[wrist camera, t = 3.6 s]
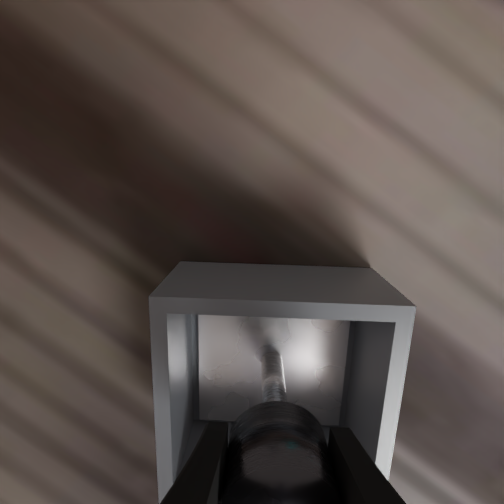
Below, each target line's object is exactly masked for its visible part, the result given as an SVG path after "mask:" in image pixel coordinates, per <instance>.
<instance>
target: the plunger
mask: <svg viewBox="0 0 504 504" xmlns="http://www.w3.org/2000/svg"><path fill="white" fill-rule="evenodd" d="M198 327H199V419H200V420H222V421H235V422H234V424H233V426H232V428H231V430H230V434H229V441H228V450H227V458H226V466H225V475H224V483H223V491H222V500H221V504H342V503H341V499H340V495H339V491H338V487H337V483H336V479H335V474H334V470H333V466H332V462H331V458H330V454H329V450H328V446H327V442H326V438H325V434H324V430H323V428H322V426H321V425H335V426H339V419H340V410H341V401H342V392H343V383H344V374H345V365H346V356H347V347H348V338H349V328H350V320H324V319H298V318H272V317H246V316H220V315H198Z"/></svg>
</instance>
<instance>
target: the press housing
mask: <svg viewBox="0 0 504 504" xmlns="http://www.w3.org/2000/svg"><path fill="white" fill-rule="evenodd" d="M148 298H149V318H150V338H151V358H152V378H153V398H154V419H155V439H156V459H157V479H158V499H159V504H160V503H161V501H162V500H163V498H164V497H165V495H166V494H167V492H168V491H169V489H170V488H171V486H172V485H173V483H174V482H175V480H176V479H177V477H178V475H179V474H180V472H181V470H182V469H183V467H184V466H185V464H186V462H187V461H188V459H189V457H190V455H191V454H192V452H193V450H194V448H195V446H196V444H197V442H198V440H199V438H200V436H201V434H202V432H203V430H204V428H205V425H206V424H207V423H208V422H209V421H211V422H228V441H229V434H230V430H231V428H232V426H233V424H234V422H235V421H222V420H200V419H199V327H198V315H220V316H246V317H272V318H298V319H324V320H350V328H349V338H348V347H347V356H346V365H345V374H344V383H343V392H342V401H341V410H340V419H339V426H335V425H321V426H322V428H323V430H324V434H325V438H326V442H327V446H328V441H329V431H330V427H347V428H350V429H351V430H352V432H353V433H354V434H355V436H356V437H357V439H358V440H359V442H360V443H361V445H362V446H363V448H364V449H365V450H366V452H367V453H368V455H369V456H370V457H371V459H372V460H373V461H374V463H375V464H376V466H377V467H378V468H379V470H380V471H381V472H382V474H383V475H384V476H385V478H386V479H387V480H389V474H390V468H391V461H392V455H393V449H394V443H395V437H396V430H397V424H398V418H399V412H400V406H401V399H402V393H403V387H404V381H405V374H406V368H407V362H408V356H409V350H410V343H411V337H412V331H413V325H414V319H415V312H416V306H415V305H414V304H413V303H412V302H411V301H410V300H408V299H407V298H406V297H405V296H404V295H403V294H401V293H400V292H399V291H398V290H397V289H396V288H394V287H393V286H392V285H391V284H390V283H389V282H387V281H386V280H385V279H384V278H383V277H382V276H380V275H379V274H378V273H377V272H376V271H375V270H373V269H372V268H358V267H329V266H301V265H273V264H244V263H216V262H188V261H180V262H179V263H178V264H177V266H176V267H175V268H174V269H173V270H172V271H171V272H170V273H169V274H168V275H167V277H166V278H165V279H164V280H163V281H162V282H161V283H160V284H159V285H158V286H157V288H156V289H155V290H154V291H153V292H152V293H151V294H150V295H149V296H148Z"/></svg>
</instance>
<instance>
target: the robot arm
mask: <svg viewBox="0 0 504 504" xmlns="http://www.w3.org/2000/svg"><path fill="white" fill-rule="evenodd" d="M227 450H228V422H211V421H209V422H208V423H207V424H206V425H205V428H204V430H203V432H202V434H201V436H200V438H199V440H198V442H197V444H196V446H195V448H194V450H193V452H192V454H191V455H190V457H189V459H188V461H187V462H186V464H185V466H184V467H183V469H182V470H181V472H180V474H179V475H178V477H177V479H176V480H175V482H174V483H173V485H172V486H171V488H170V489H169V491H168V492H167V494H166V495H165V497H164V498H163V500H162V501H161V503H160V504H221V500H222V491H223V483H224V475H225V466H226V458H227ZM328 450H329V454H330V458H331V462H332V466H333V470H334V474H335V479H336V483H337V487H338V491H339V495H340V499H341V503H342V504H406V503H405V502H404V501H403V499H402V498H401V497H400V496H399V494H398V493H397V492H396V490H395V489H394V488H393V487H392V485H391V484H390V483H389V481H388V480H387V479H386V478H385V476H384V475H383V474H382V472H381V471H380V470H379V468H378V467H377V466H376V464H375V463H374V461H373V460H372V459H371V457H370V456H369V455H368V453H367V452H366V450H365V449H364V448H363V446H362V445H361V443H360V442H359V440H358V439H357V437H356V436H355V434H354V433H353V432H352V430H351V429H350V428H347V427H330V431H329V441H328Z"/></svg>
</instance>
